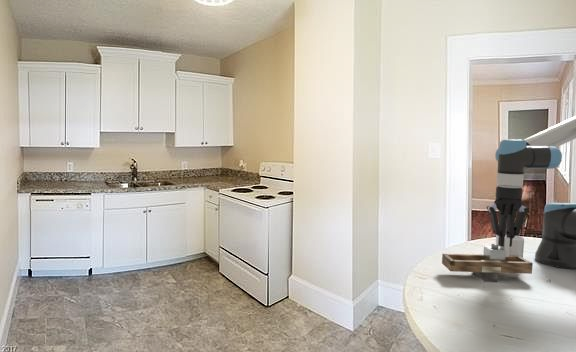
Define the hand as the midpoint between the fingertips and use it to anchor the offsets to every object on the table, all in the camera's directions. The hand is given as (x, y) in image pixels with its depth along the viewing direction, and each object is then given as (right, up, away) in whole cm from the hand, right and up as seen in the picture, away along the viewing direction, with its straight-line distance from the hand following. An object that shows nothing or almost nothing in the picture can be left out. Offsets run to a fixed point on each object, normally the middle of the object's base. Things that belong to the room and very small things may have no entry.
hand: (504, 255), depth 125 cm
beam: (-6, -7, +1) cm, 10 cm away
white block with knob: (-3, -2, 0) cm, 4 cm away
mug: (+10, -7, +13) cm, 18 cm away
